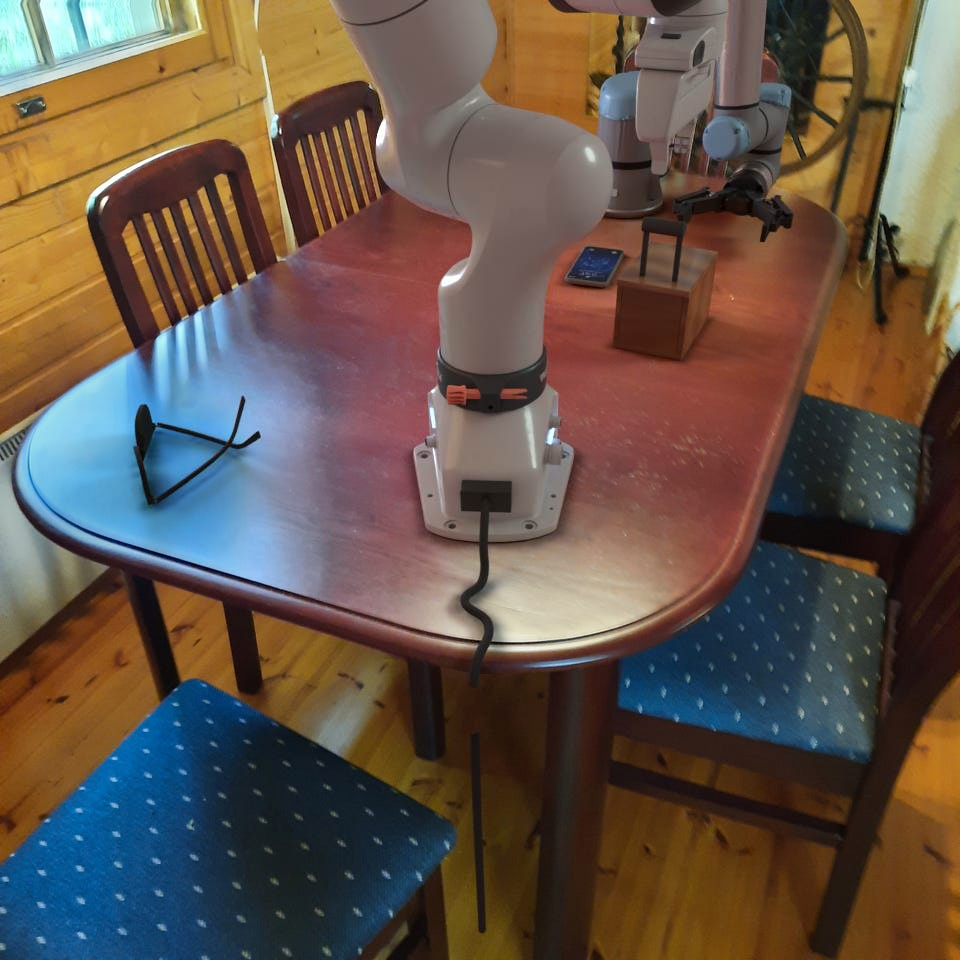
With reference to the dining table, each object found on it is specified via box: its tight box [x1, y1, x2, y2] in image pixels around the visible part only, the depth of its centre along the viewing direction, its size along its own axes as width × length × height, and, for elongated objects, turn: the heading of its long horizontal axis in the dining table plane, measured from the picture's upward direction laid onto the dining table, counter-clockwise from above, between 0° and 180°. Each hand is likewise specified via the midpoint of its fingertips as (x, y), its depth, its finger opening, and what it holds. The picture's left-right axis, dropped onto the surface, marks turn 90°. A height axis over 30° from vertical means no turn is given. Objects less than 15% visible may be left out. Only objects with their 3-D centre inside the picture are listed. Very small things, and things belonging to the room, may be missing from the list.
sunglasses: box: [132, 395, 262, 506], centre depth 100 cm, size 17×14×5 cm
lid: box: [616, 216, 719, 298], centre depth 117 cm, size 15×10×9 cm, turn 153°
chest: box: [612, 257, 718, 362], centre depth 123 cm, size 15×10×10 cm
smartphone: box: [564, 245, 625, 288], centre depth 144 cm, size 7×1×15 cm
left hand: (671, 162), depth 106 cm, fingers open, 8 cm apart
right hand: (720, 228), depth 140 cm, fingers open, 13 cm apart
